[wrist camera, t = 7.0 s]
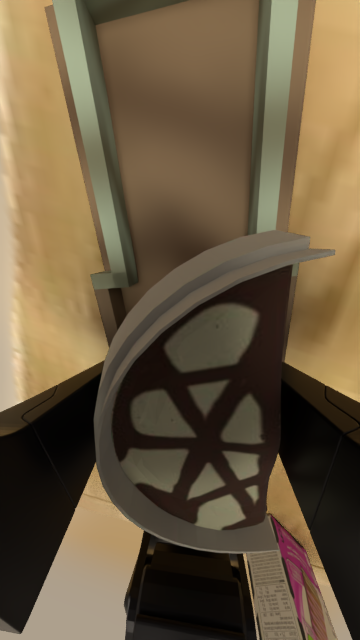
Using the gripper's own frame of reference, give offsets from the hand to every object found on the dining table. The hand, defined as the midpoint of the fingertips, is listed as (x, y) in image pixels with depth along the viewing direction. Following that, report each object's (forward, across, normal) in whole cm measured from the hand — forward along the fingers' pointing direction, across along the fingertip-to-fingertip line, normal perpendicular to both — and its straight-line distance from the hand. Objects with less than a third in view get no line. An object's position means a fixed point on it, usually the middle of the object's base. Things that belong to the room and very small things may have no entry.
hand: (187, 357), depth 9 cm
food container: (+5, +1, +1) cm, 6 cm away
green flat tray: (+6, 0, -3) cm, 7 cm away
